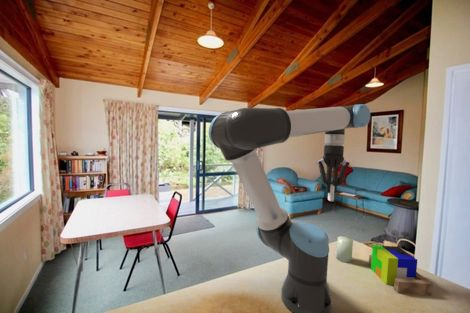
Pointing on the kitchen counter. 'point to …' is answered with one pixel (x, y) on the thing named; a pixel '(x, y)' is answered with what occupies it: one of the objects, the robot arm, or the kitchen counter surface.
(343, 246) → the cream egg shape
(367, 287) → the kitchen counter surface
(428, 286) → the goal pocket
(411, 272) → the puzzle toy
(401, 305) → the kitchen counter surface
